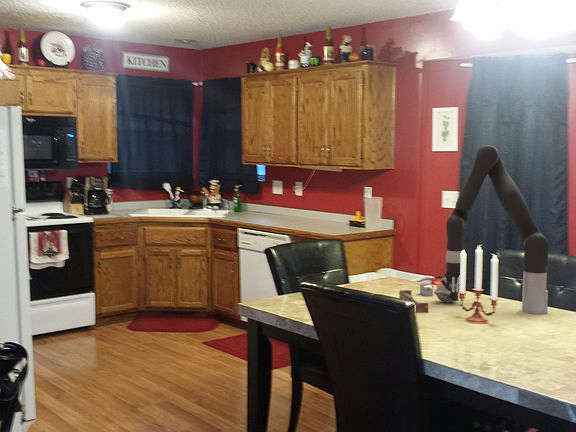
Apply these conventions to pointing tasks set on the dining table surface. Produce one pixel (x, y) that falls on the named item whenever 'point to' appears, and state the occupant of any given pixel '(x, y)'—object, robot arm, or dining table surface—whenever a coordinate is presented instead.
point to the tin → (426, 290)
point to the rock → (443, 294)
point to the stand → (407, 296)
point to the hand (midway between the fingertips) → (454, 300)
